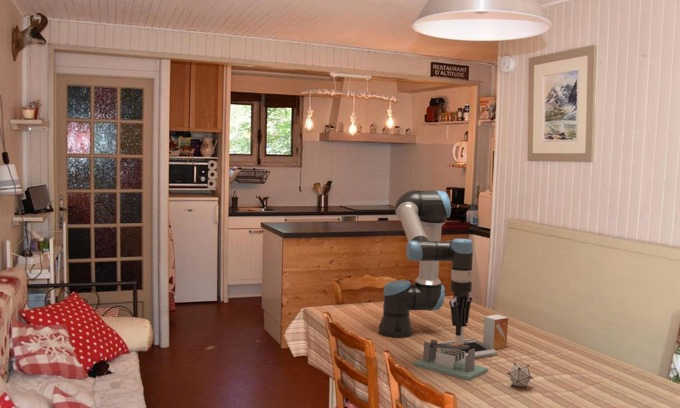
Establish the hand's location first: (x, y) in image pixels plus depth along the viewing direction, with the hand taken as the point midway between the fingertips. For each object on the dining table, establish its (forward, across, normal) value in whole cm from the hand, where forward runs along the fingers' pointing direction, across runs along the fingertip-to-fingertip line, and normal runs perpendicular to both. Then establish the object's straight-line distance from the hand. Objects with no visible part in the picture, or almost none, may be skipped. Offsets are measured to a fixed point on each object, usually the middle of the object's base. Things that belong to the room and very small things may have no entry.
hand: (459, 343), depth 248 cm
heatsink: (+10, 0, +4) cm, 11 cm away
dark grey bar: (+3, 0, +5) cm, 6 cm away
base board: (+10, 0, +4) cm, 11 cm away
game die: (+11, 0, -24) cm, 27 cm away
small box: (+10, +38, +5) cm, 40 cm away
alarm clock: (+11, +23, +9) cm, 27 cm away
